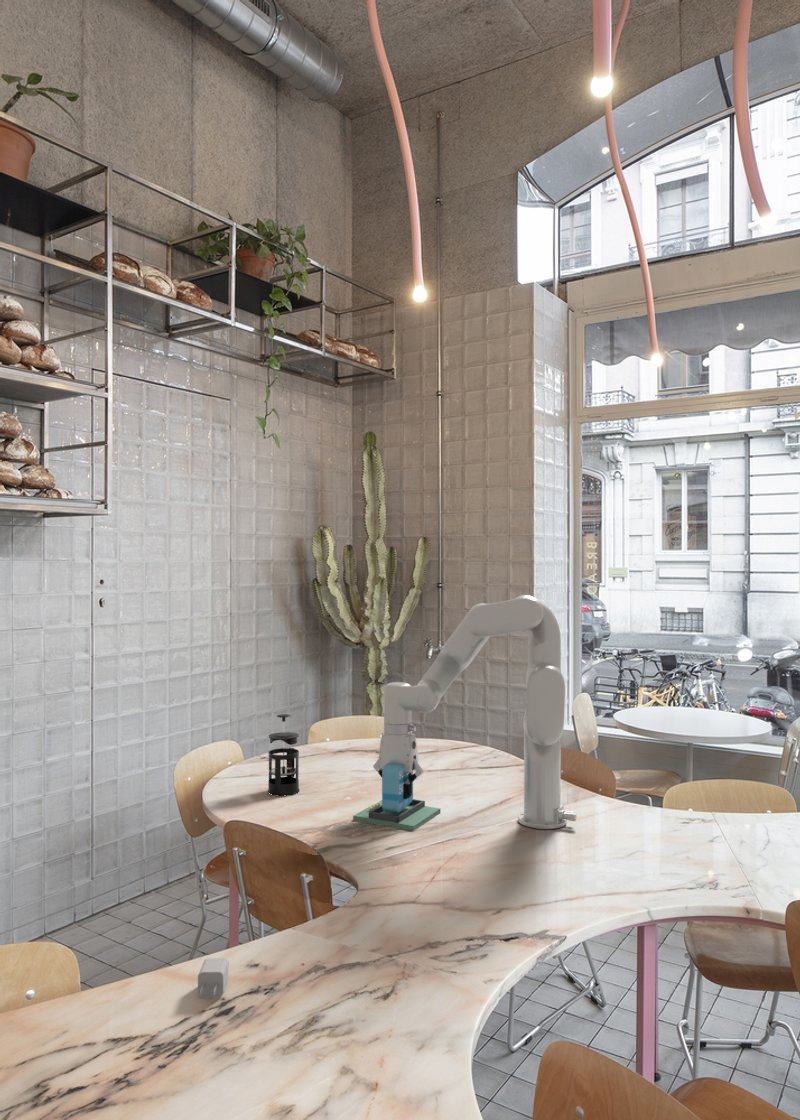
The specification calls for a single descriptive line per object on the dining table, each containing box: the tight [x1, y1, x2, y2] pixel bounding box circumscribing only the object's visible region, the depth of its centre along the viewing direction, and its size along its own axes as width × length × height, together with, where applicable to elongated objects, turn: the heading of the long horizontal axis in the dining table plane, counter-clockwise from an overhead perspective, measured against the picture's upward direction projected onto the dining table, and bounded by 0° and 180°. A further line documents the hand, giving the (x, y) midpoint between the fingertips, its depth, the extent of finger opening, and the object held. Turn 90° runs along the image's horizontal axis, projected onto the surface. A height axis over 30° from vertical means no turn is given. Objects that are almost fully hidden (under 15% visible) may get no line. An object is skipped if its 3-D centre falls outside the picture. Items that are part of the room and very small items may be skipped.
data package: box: [381, 763, 414, 813], centre depth 214 cm, size 12×4×12 cm, turn 159°
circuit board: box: [352, 798, 441, 832], centre depth 214 cm, size 18×16×3 cm
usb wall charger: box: [197, 957, 229, 998], centre depth 126 cm, size 4×7×4 cm, turn 2°
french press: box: [267, 713, 300, 797], centre depth 238 cm, size 12×9×23 cm
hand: (397, 795), depth 214 cm, fingers closed on data package, 4 cm apart
